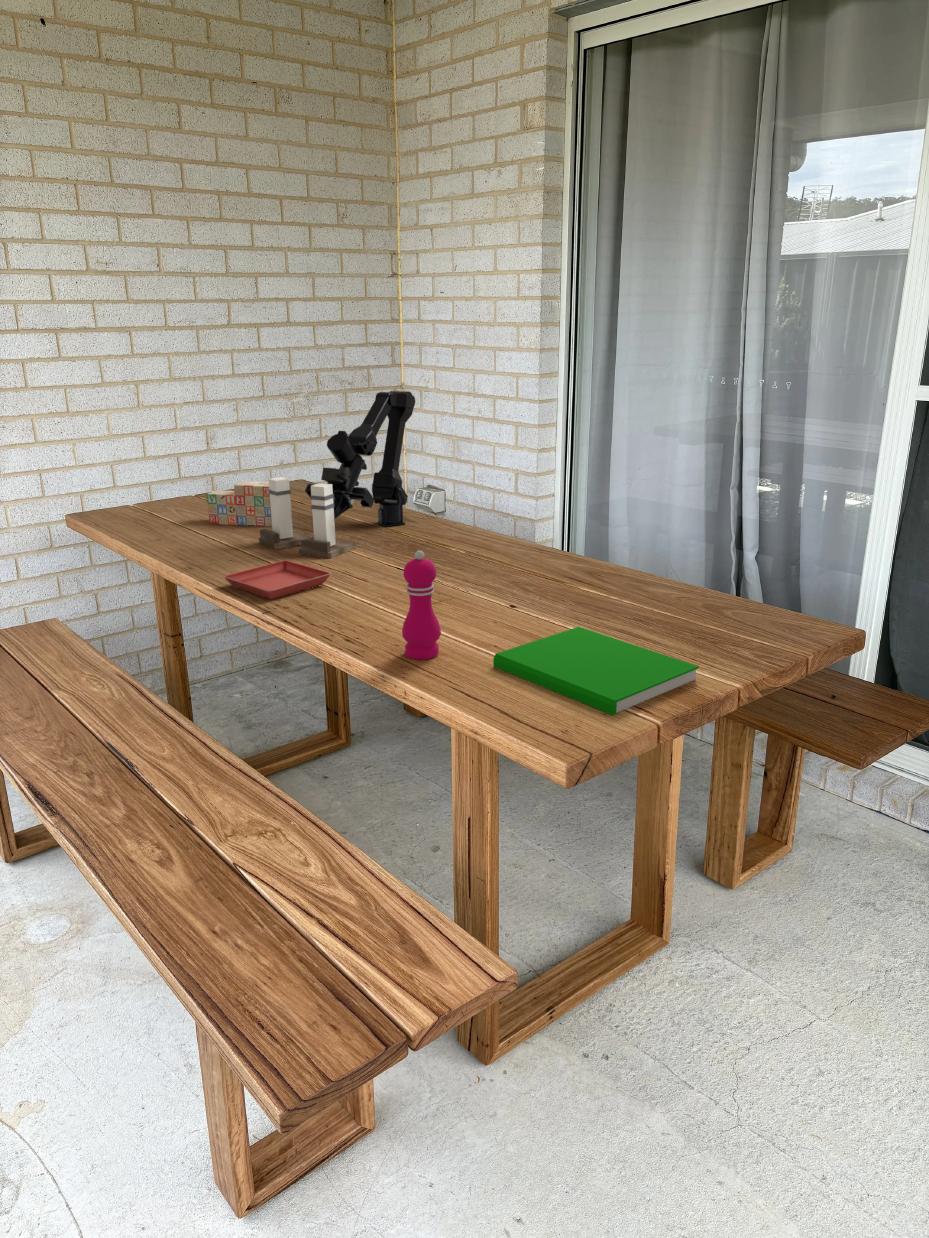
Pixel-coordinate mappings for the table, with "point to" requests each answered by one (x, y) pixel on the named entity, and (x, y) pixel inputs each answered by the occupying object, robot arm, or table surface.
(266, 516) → the stack of blocks
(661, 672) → the book
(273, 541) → the base
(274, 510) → the post
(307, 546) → the base
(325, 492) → the post
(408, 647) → the pepper mill
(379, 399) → the robot arm
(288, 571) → the plant saucer
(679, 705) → the table surface
